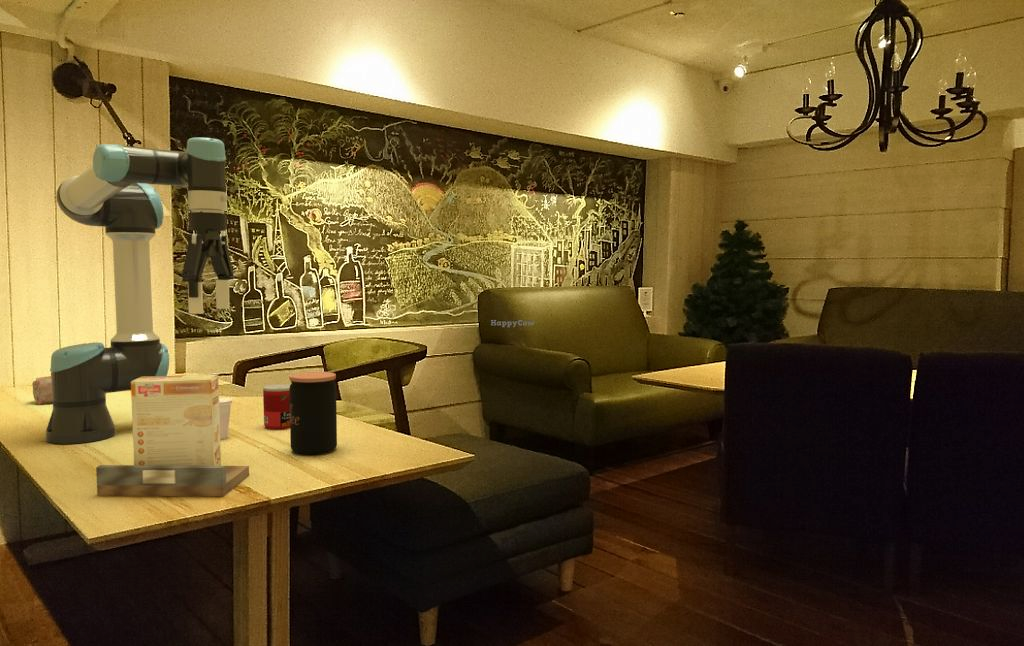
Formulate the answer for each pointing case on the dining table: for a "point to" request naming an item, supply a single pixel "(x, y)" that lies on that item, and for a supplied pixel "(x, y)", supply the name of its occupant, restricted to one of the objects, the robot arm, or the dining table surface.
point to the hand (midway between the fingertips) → (210, 311)
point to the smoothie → (224, 416)
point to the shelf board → (168, 480)
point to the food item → (43, 390)
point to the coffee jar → (313, 413)
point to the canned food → (276, 406)
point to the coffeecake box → (176, 420)
